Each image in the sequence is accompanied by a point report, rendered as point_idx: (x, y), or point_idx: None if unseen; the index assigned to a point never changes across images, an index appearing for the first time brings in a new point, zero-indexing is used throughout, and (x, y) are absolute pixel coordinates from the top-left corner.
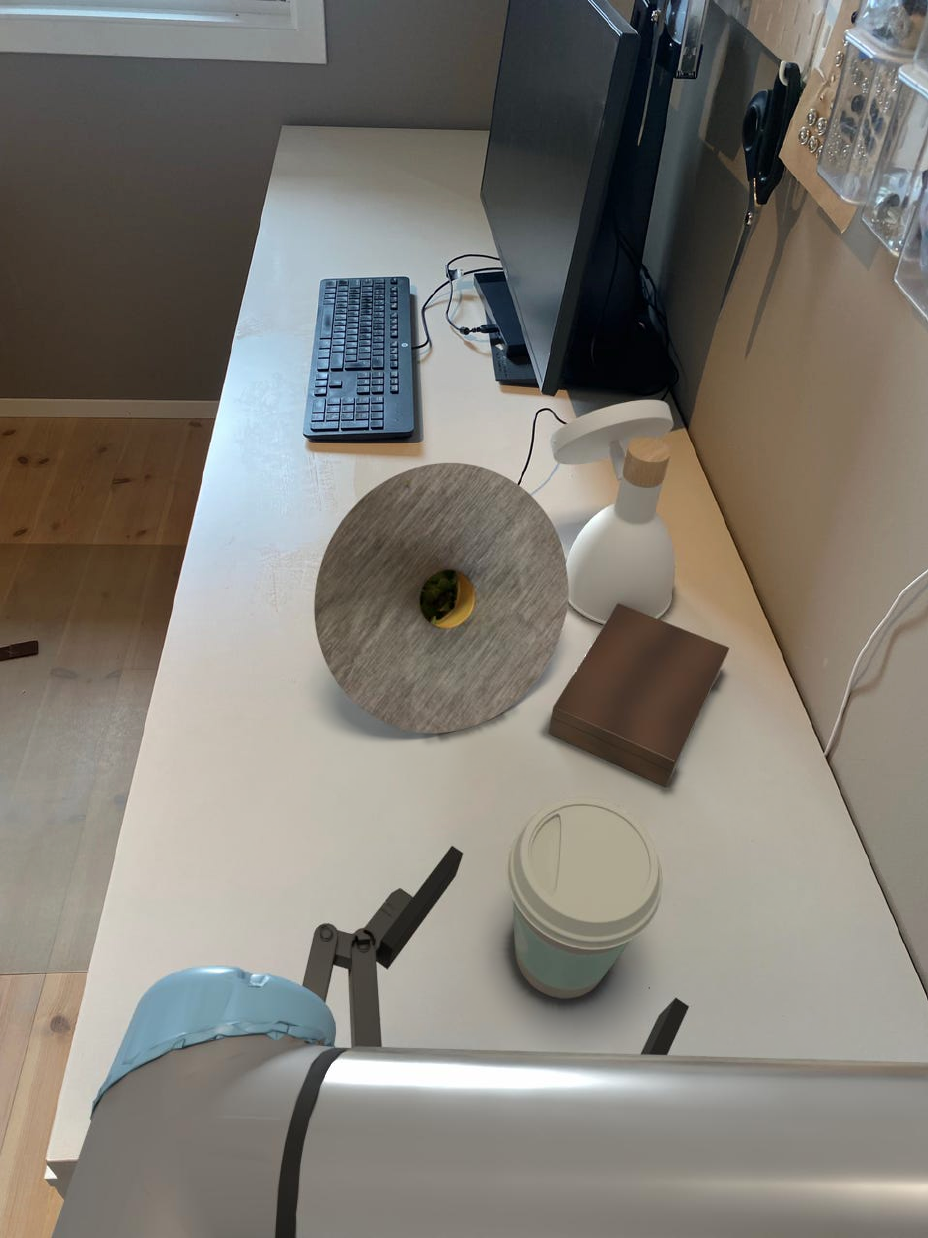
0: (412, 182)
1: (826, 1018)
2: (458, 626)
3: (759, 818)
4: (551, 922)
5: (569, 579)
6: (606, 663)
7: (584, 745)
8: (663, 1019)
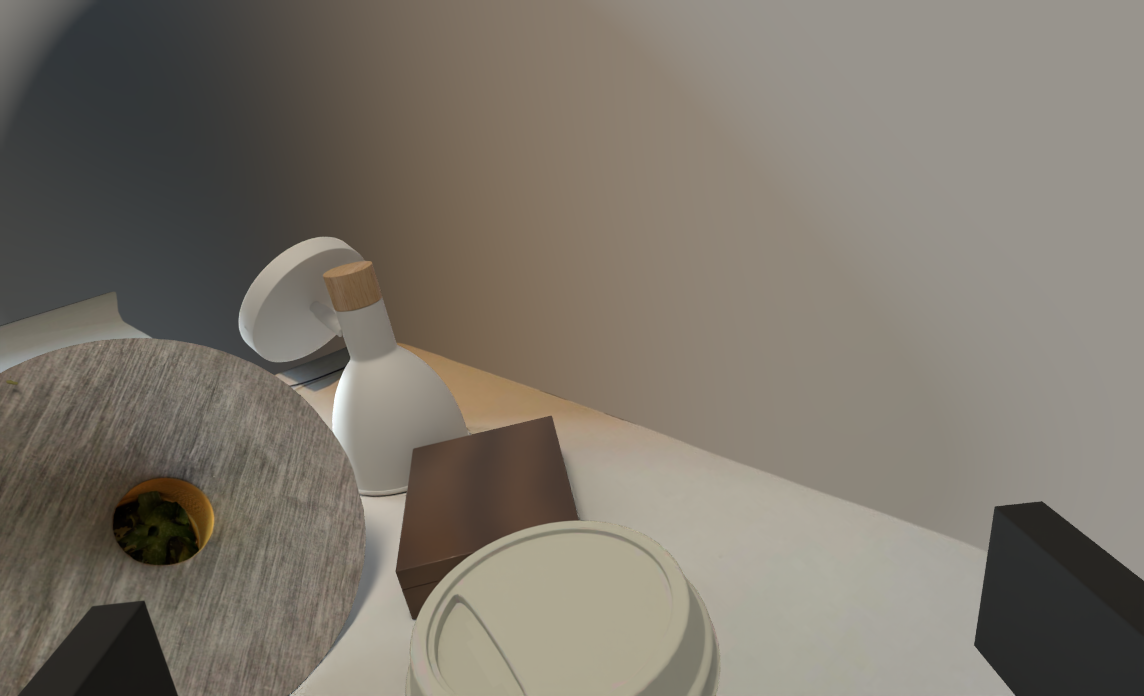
0: (54, 334)
1: (980, 663)
2: (203, 550)
3: (707, 533)
4: None
5: None
6: (434, 497)
7: None
8: (1038, 581)
